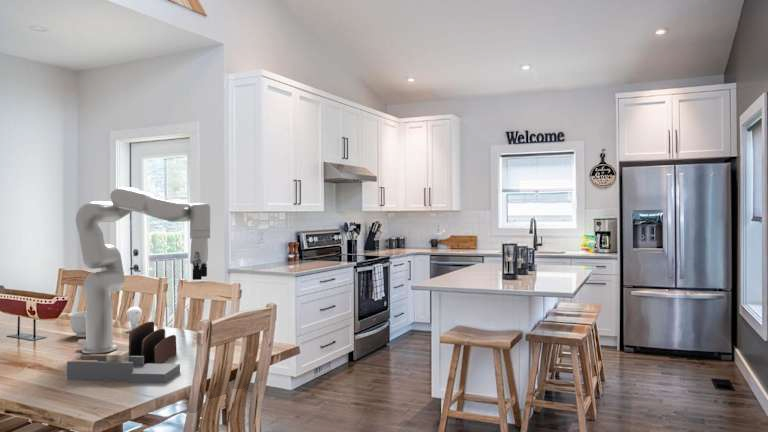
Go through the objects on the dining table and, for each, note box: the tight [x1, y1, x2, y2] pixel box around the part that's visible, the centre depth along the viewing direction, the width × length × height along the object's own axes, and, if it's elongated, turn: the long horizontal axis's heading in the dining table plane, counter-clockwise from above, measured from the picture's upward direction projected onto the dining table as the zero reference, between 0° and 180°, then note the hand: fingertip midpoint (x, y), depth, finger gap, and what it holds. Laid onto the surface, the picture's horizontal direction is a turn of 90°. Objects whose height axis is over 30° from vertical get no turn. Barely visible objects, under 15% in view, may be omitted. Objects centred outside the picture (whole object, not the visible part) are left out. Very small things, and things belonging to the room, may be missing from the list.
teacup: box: [67, 310, 86, 338], centre depth 248 cm, size 12×15×10 cm
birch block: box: [106, 350, 129, 362], centre depth 188 cm, size 5×5×5 cm
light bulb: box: [126, 306, 143, 330], centre depth 261 cm, size 7×7×11 cm
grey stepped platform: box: [66, 353, 181, 384], centre depth 188 cm, size 34×12×6 cm, turn 87°
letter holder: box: [128, 321, 178, 365], centre depth 208 cm, size 10×20×14 cm, turn 179°
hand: (199, 278), depth 217 cm, fingers open, 9 cm apart
